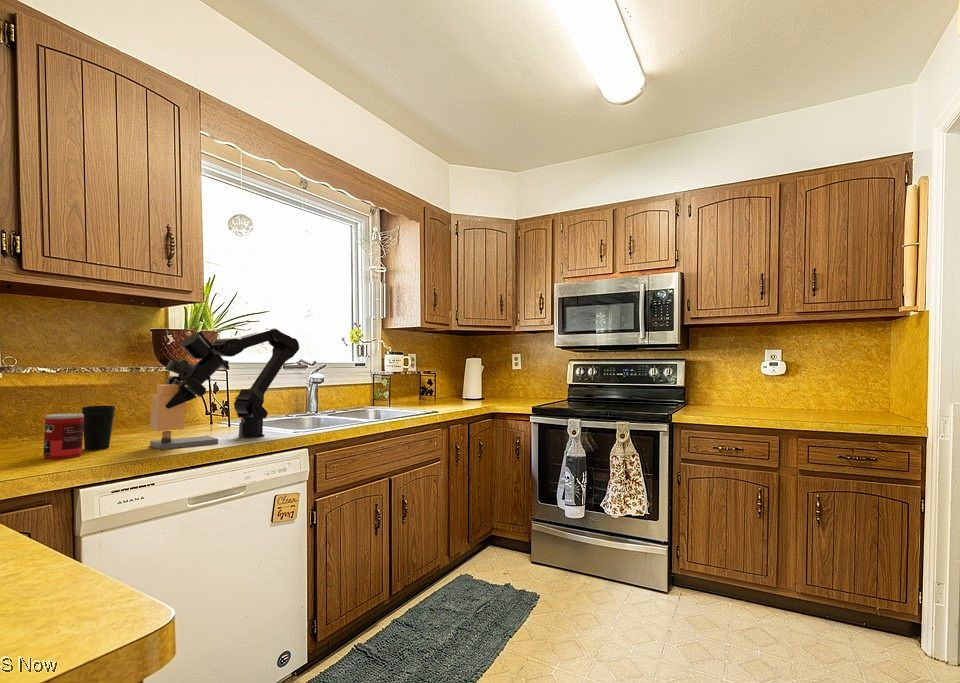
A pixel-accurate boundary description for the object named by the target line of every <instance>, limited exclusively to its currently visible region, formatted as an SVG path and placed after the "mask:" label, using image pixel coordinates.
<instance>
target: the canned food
mask: <svg viewBox="0 0 960 683" xmlns="http://www.w3.org/2000/svg"><path fill="white" fill-rule="evenodd" d="M83 424H84V414H82V413H77V412H75V413H74V412H73V413H72V412H71V413H53V414H52V413H51V414H46V415H45V419H44V434H43V453H42V454H43V458H44V459H46V460H67V459H72V458H73V459H74V458H78V457H80V456H82V453H83V444H84V432H83Z"/></svg>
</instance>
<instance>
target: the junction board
mask: <svg viewBox="0 0 960 683" xmlns="http://www.w3.org/2000/svg"><path fill="white" fill-rule="evenodd" d="M161 432H162V434H161V439H156V440H154V439H153V440H149V447H152V448H154V449H155V450H158V449H159V451H161V449H164V450H170V449H169V448H173V449H179V448H178V447H183V448H190V446H193V447H202V446H210V445H211V446H212V445H218V444H219V439H218V437H213V436H210V435H201V436H200V435H199V436H191V437H180V438H179V437H177V438H172V430H164V431H161Z"/></svg>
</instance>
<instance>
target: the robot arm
mask: <svg viewBox="0 0 960 683" xmlns="http://www.w3.org/2000/svg"><path fill="white" fill-rule="evenodd" d="M266 342H268V344H269V346H271V347H272V350H271V351H272V352H271V354H272V355H271V357H270V359H269V360H268V361H267V363H266V365H265V366H264V367H263V369H262V371H261V372H260V374H259V375H258V376H257V378H256V379H255V381H254V382H253V383H252V385H251V387H250V388H248V389H246V388H245V389H244V388H241V390H240V391H239V393H238V395H237V396H236V397H234V400H235V401H234V402H233V406H234V409H235V410H234V411H235V412H236V415H237V418H238V419H240V422H239V424H238V425H239V426H238V434H237V436H238V437H240V438H241V437H242V438H258V437H265V436H266V435H265V434H264V433H263V430H264V427H263V426H264V424H263V423H264V419H266V418H267V416H268V413H269V412H268V411H267V410H266V409H265V407H263V404H264V402H265V394H266V392H267V390H268V389H269V387H270V386H271V384H272V383H273V381H274V380H275V378H276V377H277V375H278V374H279V372H280V370H281V369H282V367H283V366H284V364H285V363H286V362H288V361H289V360H290V359H292V358H293V357H294V356H295V355H296V354H297V353H298V352H299V350H300V343H299V341H298V339H296V338H295V337H291V336H290V335H287V334H286V333H284V332H281V331H280V330H278V329H277V328H274V327H273V328H264V329H263V330H259V331H255V332H253V333H249V334H245V335H242V336H239V337H228V338H227V337H225V338H217V339H215V340H213V342H210V340H208V338H207V337H206V336H205V334H204V333H203V332H202V331H196V332H195V333H194V334H191V335H189V336H187V337H185V338H184V339H183V340H182V341H181V343H180V346H181V347H182V348H183V349H184V350H185V351H186V352H187V353H188V354H189V355H190V357H191V358H193V359H194V360H197V359H199V360H198V361H197V362H196V363H195V364H190V365H189V360H186V359H180V360H177V359H169V361H168V363H167V364H166V366H165V368H164V370H166V371H168V372H172V373H175V374H177V375H169V376H168V378H166V379H165V382H166V385H171V384H176V385H178V392H177V393H176V394H175V395H174V396H173V397H172V399H171V400H170V401H169V402H168V404H167V405H166V408H168V409H169V408H172V407H174V406H177V405H179V404H181V403H184V402H185V403H186V402H188V401H191V400H195V399H197V398H198V397H200V398H202V397H203V396H204V395H205V394H206V393H207V388H206V387H205V386H204V385H203V384H204V383H205V382H206V381H210V380H211V379H212V377H211V376H213V375H214V374H215V372H217V371H218V370H219V369H225V370H229V363H230V362H229V361H230V360H227V359H224V358H225V357H228V358H229V357H231V358H233V357H234V356H237V355H239V354H240V353H242V352H244V350H245V349H248V348H251V347H254V346H257V345H259V344H264V343H266ZM223 357H224V358H223Z"/></svg>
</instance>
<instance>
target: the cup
mask: <svg viewBox="0 0 960 683" xmlns="http://www.w3.org/2000/svg"><path fill="white" fill-rule="evenodd" d="M115 410H116V406H115V405H88V406H83V407H82V408H81V412H82V413H81V414H84V424H83V444H84V451H101V450H100V449H103V450H108V449H109V448H110V442H111V438H112V430H113V423H114V418H115ZM107 448H108V449H107Z"/></svg>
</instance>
